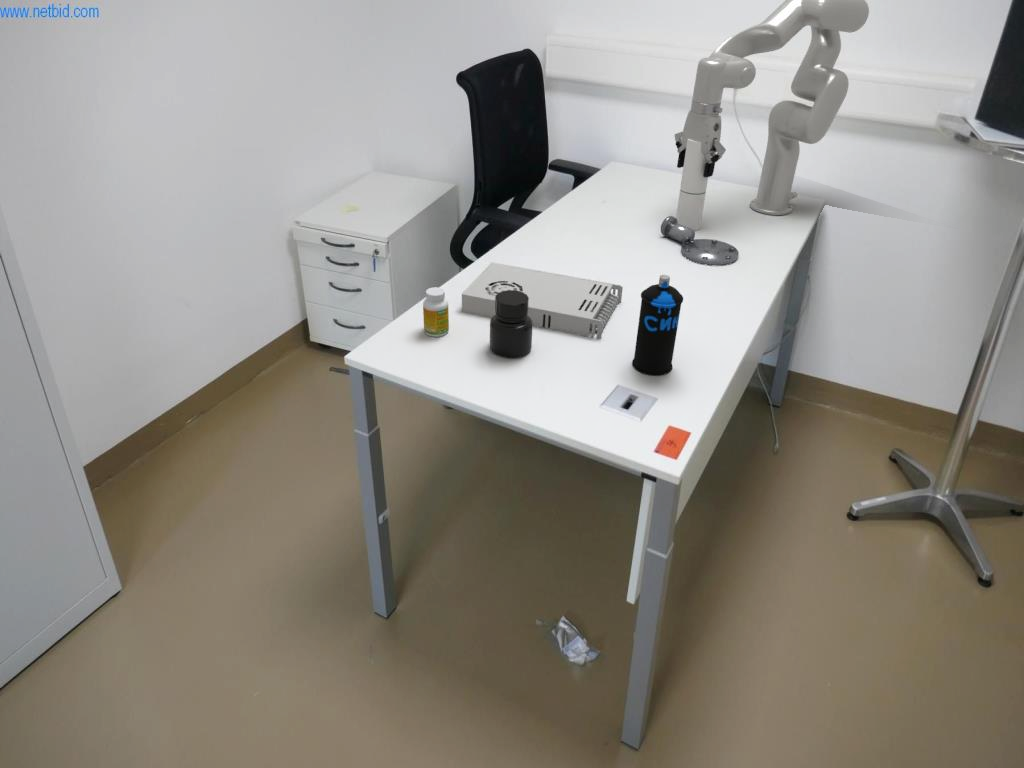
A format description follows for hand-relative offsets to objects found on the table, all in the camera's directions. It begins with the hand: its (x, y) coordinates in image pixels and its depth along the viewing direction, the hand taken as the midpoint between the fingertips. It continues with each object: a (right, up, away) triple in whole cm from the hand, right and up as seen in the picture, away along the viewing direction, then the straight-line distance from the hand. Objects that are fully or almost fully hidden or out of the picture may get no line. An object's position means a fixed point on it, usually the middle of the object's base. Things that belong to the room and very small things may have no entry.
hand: (694, 171), depth 218 cm
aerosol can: (-22, -55, -56) cm, 82 cm away
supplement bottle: (-67, -48, -47) cm, 95 cm away
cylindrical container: (0, -14, +9) cm, 16 cm away
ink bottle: (-51, -52, -52) cm, 89 cm away
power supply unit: (-44, -42, -35) cm, 70 cm away
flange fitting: (0, -22, -5) cm, 23 cm away
